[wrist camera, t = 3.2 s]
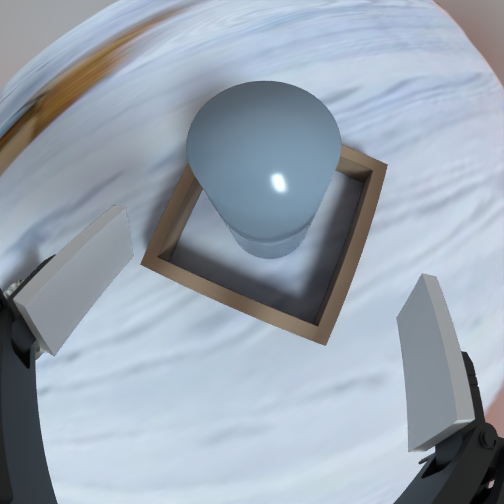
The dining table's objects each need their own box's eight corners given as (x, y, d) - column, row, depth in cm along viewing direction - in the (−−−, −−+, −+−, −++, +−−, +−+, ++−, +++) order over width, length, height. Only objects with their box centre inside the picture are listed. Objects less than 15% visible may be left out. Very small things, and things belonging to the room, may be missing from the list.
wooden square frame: (153, 268, 22) (140, 264, 20) (225, 122, 24) (220, 106, 22) (320, 340, 20) (325, 345, 18) (377, 177, 22) (387, 164, 20)
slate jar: (218, 241, 22) (160, 178, 11) (249, 173, 23) (226, 69, 11) (291, 271, 22) (311, 235, 10) (319, 199, 22) (356, 107, 10)
